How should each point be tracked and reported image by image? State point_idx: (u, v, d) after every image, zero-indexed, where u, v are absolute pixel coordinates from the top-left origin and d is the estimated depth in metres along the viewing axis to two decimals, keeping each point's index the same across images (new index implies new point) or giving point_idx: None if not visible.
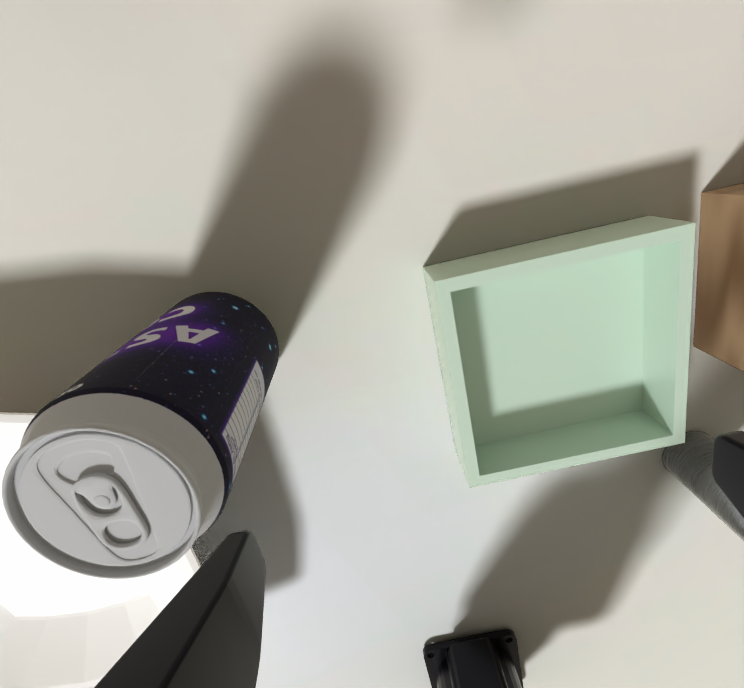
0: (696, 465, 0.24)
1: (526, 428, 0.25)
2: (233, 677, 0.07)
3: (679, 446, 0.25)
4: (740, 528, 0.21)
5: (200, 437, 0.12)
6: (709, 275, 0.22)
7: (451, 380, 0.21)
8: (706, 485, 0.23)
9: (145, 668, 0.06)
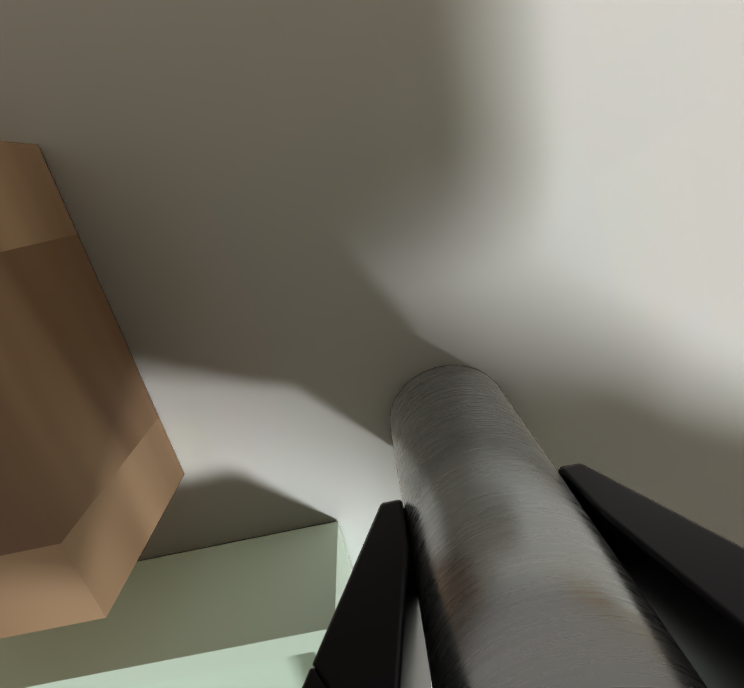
0: None
1: None
2: (421, 641, 0.07)
3: None
4: None
5: None
6: None
7: None
8: None
9: (369, 625, 0.06)
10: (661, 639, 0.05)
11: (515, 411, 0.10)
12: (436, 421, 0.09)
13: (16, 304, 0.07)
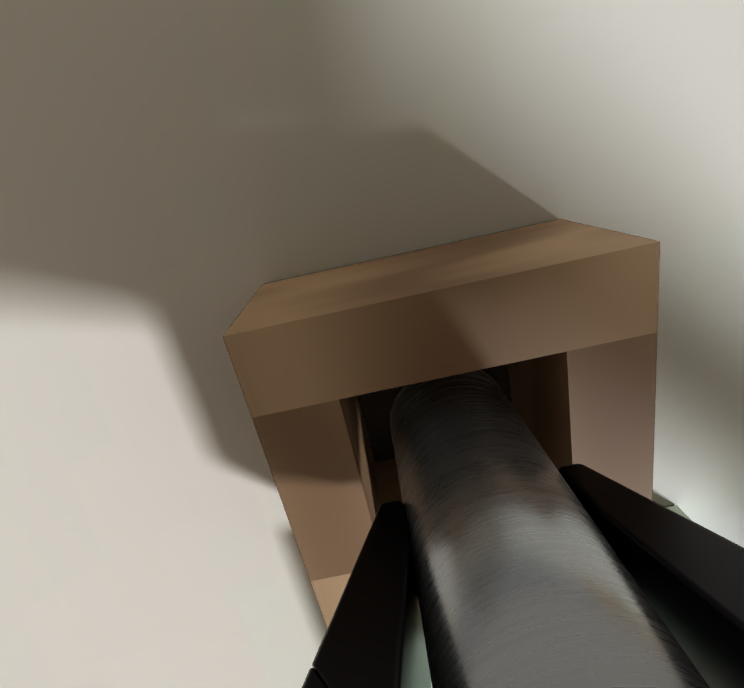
0: None
1: None
2: (421, 641, 0.07)
3: None
4: None
5: None
6: None
7: None
8: None
9: (369, 624, 0.06)
10: (664, 640, 0.05)
11: (515, 410, 0.10)
12: (435, 420, 0.09)
13: None
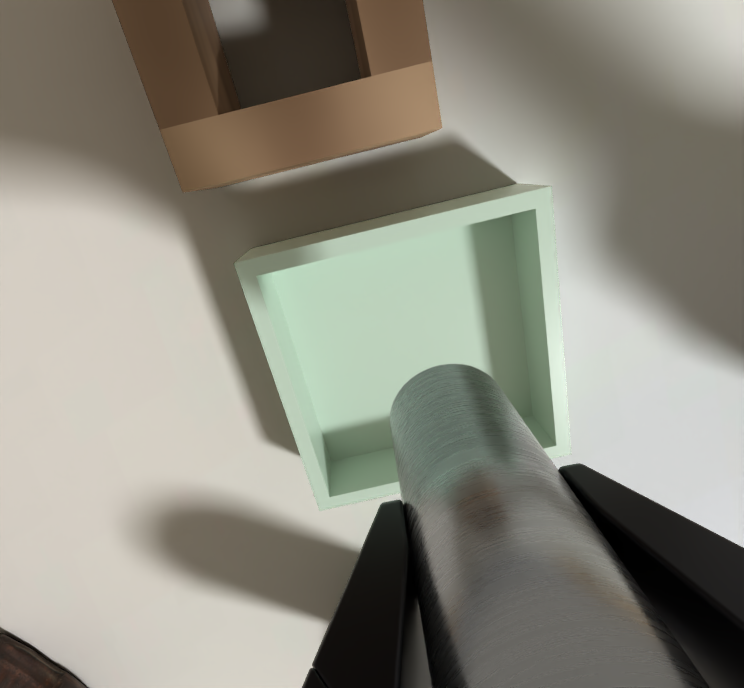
0: None
1: (516, 353, 0.20)
2: (421, 641, 0.07)
3: None
4: None
5: None
6: (313, 163, 0.16)
7: None
8: None
9: (369, 625, 0.06)
10: (663, 639, 0.05)
11: (515, 410, 0.10)
12: (435, 420, 0.09)
13: None
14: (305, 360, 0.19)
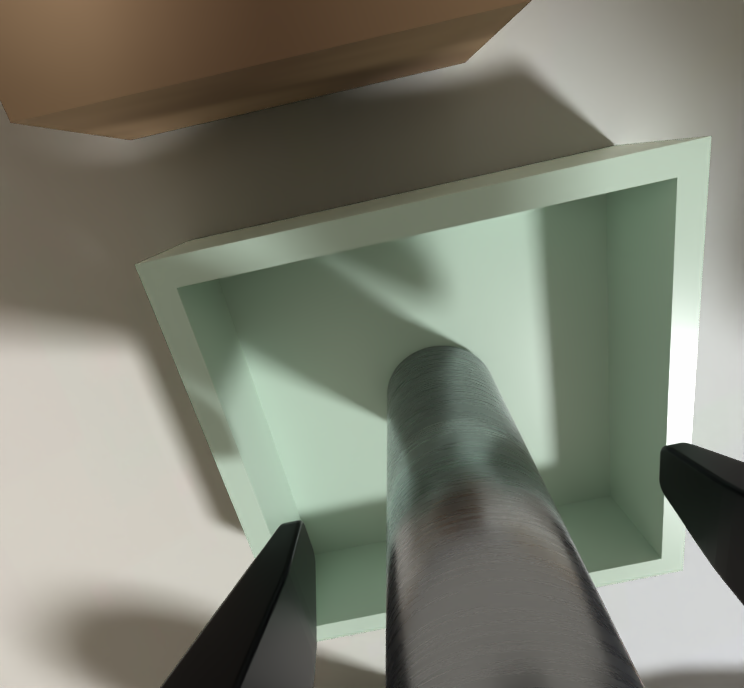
0: None
1: (595, 408, 0.13)
2: (297, 665, 0.07)
3: None
4: None
5: None
6: (285, 97, 0.10)
7: None
8: None
9: (221, 653, 0.06)
10: (563, 555, 0.06)
11: (495, 387, 0.11)
12: (419, 391, 0.10)
13: None
14: (274, 414, 0.13)
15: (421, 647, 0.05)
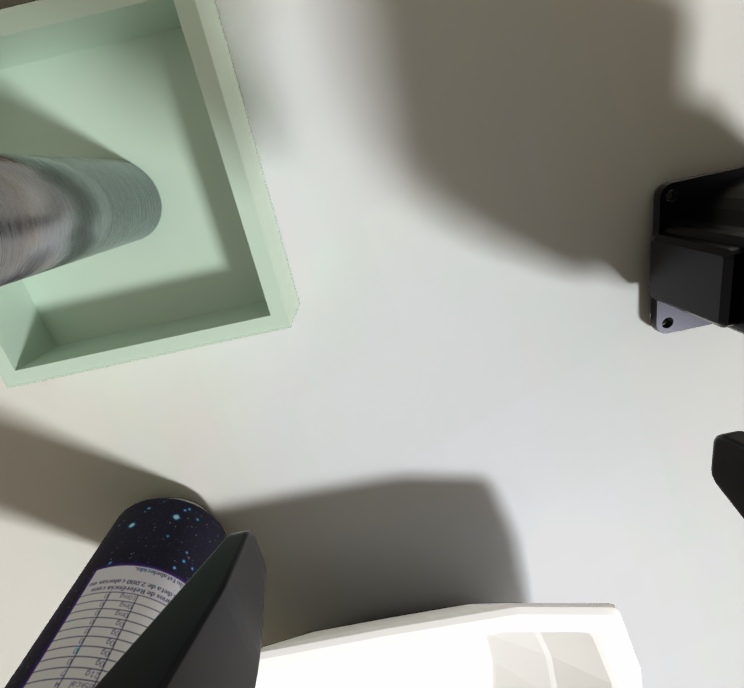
0: None
1: None
2: (233, 677, 0.07)
3: None
4: None
5: None
6: None
7: (130, 360, 0.17)
8: None
9: (145, 668, 0.06)
10: (6, 162, 0.10)
11: (127, 172, 0.15)
12: None
13: None
14: None
15: None
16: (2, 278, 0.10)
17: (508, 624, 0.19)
